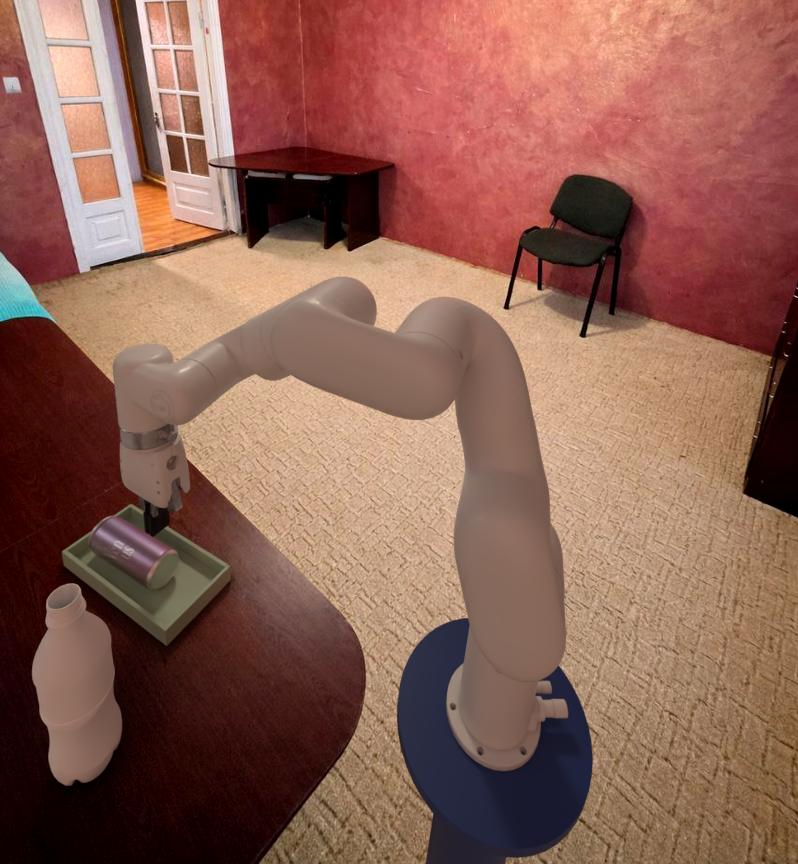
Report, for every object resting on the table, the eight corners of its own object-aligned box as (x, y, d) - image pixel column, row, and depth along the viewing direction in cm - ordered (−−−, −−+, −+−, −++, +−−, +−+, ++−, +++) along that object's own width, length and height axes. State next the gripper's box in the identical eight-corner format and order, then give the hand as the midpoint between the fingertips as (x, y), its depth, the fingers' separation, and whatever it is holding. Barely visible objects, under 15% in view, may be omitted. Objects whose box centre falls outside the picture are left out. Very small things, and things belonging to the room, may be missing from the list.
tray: (231, 579, 80) (230, 565, 79) (166, 646, 69) (165, 631, 68) (132, 516, 90) (131, 503, 89) (63, 565, 80) (61, 551, 79)
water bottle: (137, 738, 59) (119, 582, 52) (79, 811, 53) (49, 644, 45) (97, 708, 62) (75, 555, 54) (38, 773, 55) (3, 610, 48)
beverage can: (186, 549, 80) (126, 513, 86) (160, 553, 75) (98, 515, 81) (170, 588, 78) (109, 549, 84) (142, 595, 73) (79, 553, 79)
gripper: (206, 432, 70) (211, 532, 75) (139, 399, 76) (147, 494, 81) (161, 461, 63) (169, 569, 69) (91, 423, 70) (104, 524, 75)
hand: (157, 528), depth 75 cm, fingers closed
